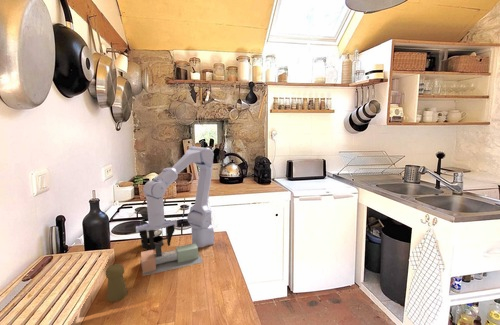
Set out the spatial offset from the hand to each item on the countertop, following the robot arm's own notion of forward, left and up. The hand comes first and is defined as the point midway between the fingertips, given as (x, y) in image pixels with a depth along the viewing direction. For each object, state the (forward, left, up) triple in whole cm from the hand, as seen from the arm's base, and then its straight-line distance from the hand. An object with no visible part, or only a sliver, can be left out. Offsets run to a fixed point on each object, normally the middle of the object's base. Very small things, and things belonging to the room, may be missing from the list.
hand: (158, 246), depth 103 cm
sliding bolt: (-3, 0, -7) cm, 7 cm away
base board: (-5, 0, -8) cm, 9 cm away
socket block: (+4, 0, -7) cm, 8 cm away
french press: (0, -18, -8) cm, 20 cm away
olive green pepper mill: (+14, +14, -8) cm, 22 cm away
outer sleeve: (-11, 0, -7) cm, 13 cm away
